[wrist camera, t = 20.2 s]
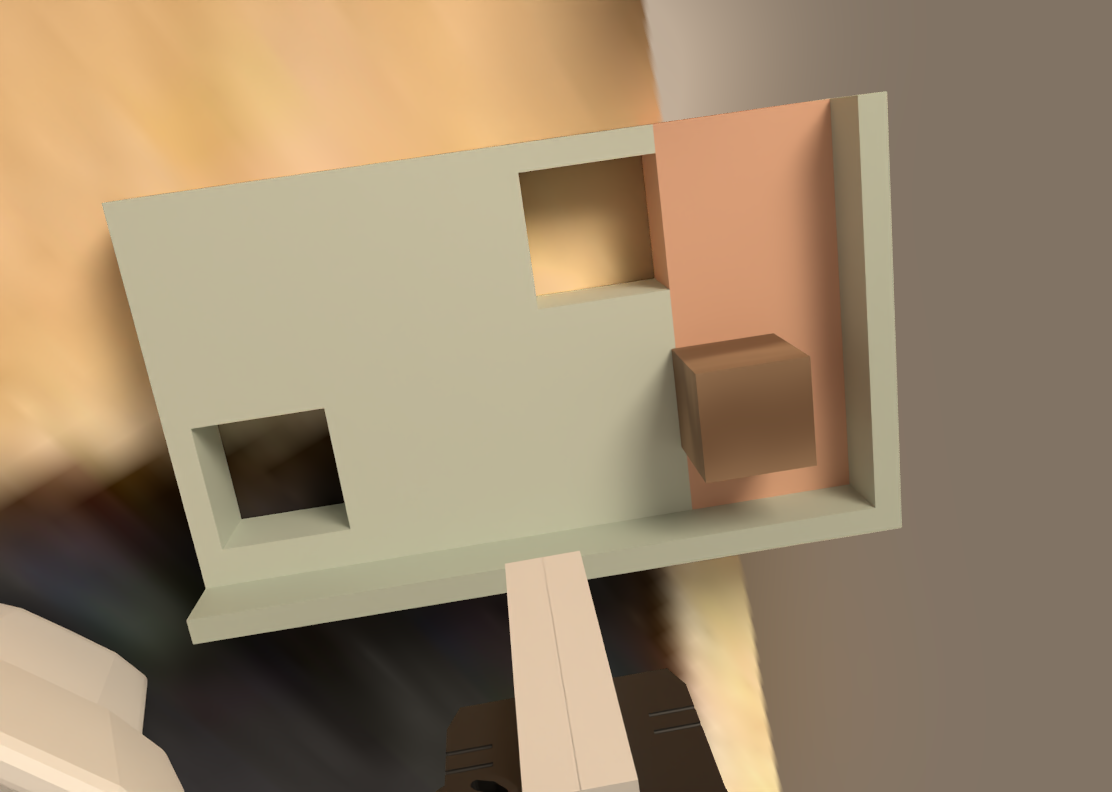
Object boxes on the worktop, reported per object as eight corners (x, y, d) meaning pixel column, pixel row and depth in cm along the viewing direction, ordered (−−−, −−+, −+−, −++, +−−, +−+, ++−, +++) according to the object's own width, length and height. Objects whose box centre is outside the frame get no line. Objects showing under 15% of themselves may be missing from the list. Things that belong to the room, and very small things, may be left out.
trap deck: (133, 198, 35) (70, 208, 29) (826, 99, 36) (886, 91, 30) (231, 576, 39) (193, 644, 34) (846, 477, 40) (901, 527, 35)
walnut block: (671, 348, 35) (695, 374, 31) (773, 333, 35) (810, 356, 31) (681, 446, 36) (706, 483, 32) (780, 431, 36) (817, 465, 32)
